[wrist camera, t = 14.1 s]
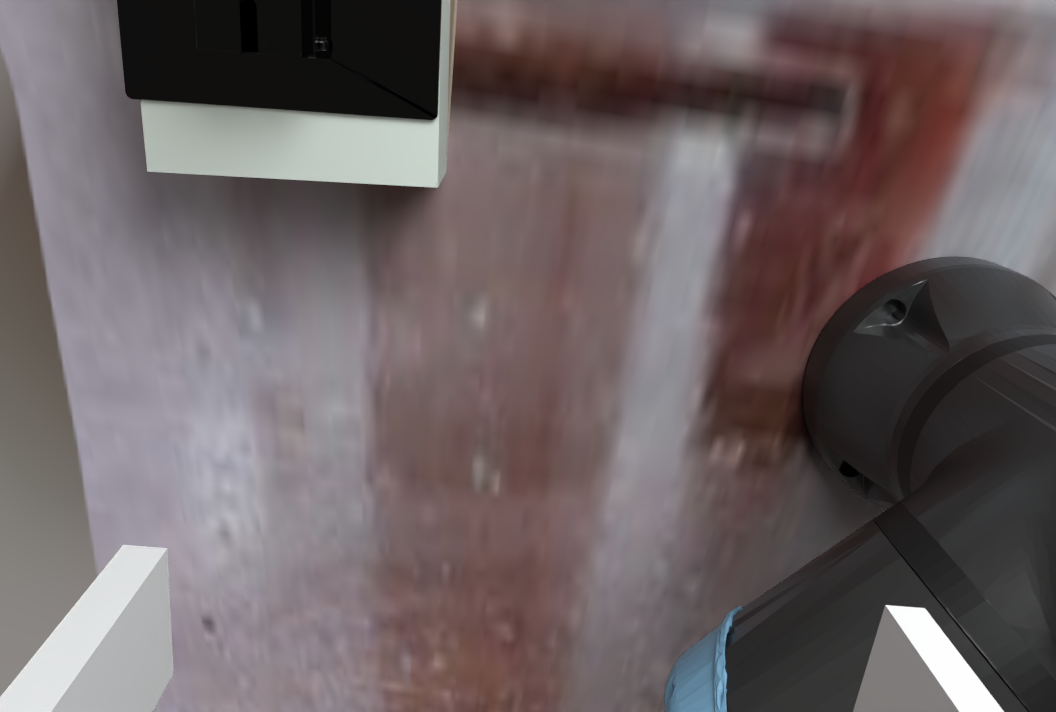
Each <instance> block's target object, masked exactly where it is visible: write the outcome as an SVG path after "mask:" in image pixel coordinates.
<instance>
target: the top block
mask: <svg viewBox="0 0 1056 712" xmlns="http://www.w3.org/2000/svg"><path fill="white" fill-rule="evenodd" d="M449 40H450V0H442V12H441V41H440V72H439V104H438V116H437V118H436V119H434V120H421V119H407V118H393V117H379V116H365V115H351V114H337V113H323V112H309V111H295V110H281V109H267V108H253V107H239V106H225V105H211V104H197V103H183V102H169V101H155V100H141V99H140V102H141V113H142V123H143V133H144V143H145V153H146V163H147V172H163V173H181V174H199V175H217V176H235V177H253V178H271V179H289V180H307V181H325V182H343V183H361V184H379V185H398V186H416V187H434V188H438V186H439V185H440V183H441V181H442V179H443V178H444V176H445V174H446V167H447V125H448V82H449Z"/></svg>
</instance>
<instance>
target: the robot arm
mask: <svg viewBox="0 0 1056 712" xmlns="http://www.w3.org/2000/svg"><path fill="white" fill-rule="evenodd" d="M803 411H804V417H805V422H806V425H807V429H808V432H809V434H810V437H811V439H812V441H813V443H814V445H815V447H816V448H817V450H818V452H819V453H820V455H821V456H822V457H823V458H824V460H825V461H826V462H827V463H828V465H829V466H830V467H831V468H832V470H833V471H834V472H835V473H836V475H837V476H838V477H839V478H840V479H841V480H842V481H843V482H844V483H845V484H846V485H847V486H849V487H850V488H851V489H853V490H854V491H855V492H856V493H858V494H859V495H861V496H862V497H864V498H866V499H867V500H869V501H871V502H873V503H876V504H878V505H880V506H882V507H885V508H887V510H886V511H885V512H883V513H882V514H880V515H879V516H877V517H876V518H874V520H873V519H872V520H871V521H869V522H868V523H867V524H865V525H864V526H862V527H861V528H859V529H858V530H856V531H855V532H854V533H852V534H851V535H849V536H848V537H846V538H845V539H843V540H842V541H840V542H839V543H838V544H836V545H835V546H833V547H832V548H830V549H829V550H827V551H826V552H824V553H823V554H821V555H820V556H819V557H817V558H816V559H814V560H813V561H811V562H810V563H808V564H807V565H805V566H804V567H803V568H801V569H800V570H798V571H797V572H795V573H794V574H792V575H791V576H789V577H788V578H786V579H785V580H784V581H782V582H781V583H779V584H778V585H776V586H775V587H773V588H772V589H770V590H769V591H768V592H766V593H765V594H763V595H762V596H760V597H759V598H757V599H756V600H754V601H753V602H751V603H750V604H749V605H747V606H746V607H741V606H739V607H737V608H735V609H733V610H731V611H730V612H729V613H728V614H727V615H726V616H725V618H724V620H723V622H722V624H721V625H719V626H718V627H717V628H715V629H714V630H713V631H712V632H710V633H709V634H708V635H706V636H705V637H704V638H702V639H701V640H700V641H699V642H697V643H696V644H695V645H693V646H692V647H691V648H690V649H688V650H687V651H686V652H684V653H683V654H682V655H681V656H680V657H679V659H678V660H677V661H676V663H675V664H674V666H673V668H672V670H671V672H670V674H669V676H668V680H667V683H666V690H665V695H664V703H665V712H1056V297H1055V296H1054V295H1053V294H1052V293H1051V292H1049V291H1048V290H1047V289H1045V288H1044V287H1043V286H1042V285H1040V284H1039V283H1037V282H1036V281H1034V280H1032V279H1030V278H1029V277H1027V276H1025V275H1022V274H1020V273H1018V272H1015V271H1013V270H1010V269H1008V268H1006V267H1003V266H1001V265H998V264H996V263H992V262H989V261H986V260H981V259H976V258H969V257H940V258H933V259H927V260H922V261H918V262H914V263H911V264H908V265H905V266H902V267H900V268H897V269H895V270H893V271H891V272H888V273H886V274H885V275H883V276H881V277H879V278H877V279H876V280H874V281H872V282H871V283H869V284H868V285H866V286H865V287H864V288H862V289H861V290H860V291H858V292H857V293H856V294H855V295H853V296H852V297H851V298H850V299H849V300H848V301H847V302H846V303H845V304H844V305H843V306H842V307H841V308H840V309H839V310H838V311H837V312H836V314H835V315H834V316H833V317H832V319H831V320H830V321H829V323H828V324H827V325H826V327H825V328H824V330H823V332H822V333H821V335H820V337H819V338H818V340H817V342H816V344H815V346H814V349H813V351H812V353H811V356H810V359H809V361H808V365H807V368H806V372H805V378H804V384H803ZM173 674H174V673H173V652H172V632H171V611H170V591H169V570H168V550H167V548H157V547H144V546H131V545H123V546H122V547H121V548H120V550H119V551H118V552H117V553H116V555H115V556H114V557H113V558H112V559H111V561H110V562H109V563H108V564H107V566H106V567H105V568H104V569H103V571H102V572H101V573H100V574H99V576H98V577H97V578H96V579H95V581H94V582H93V583H92V584H91V585H90V587H89V588H88V589H87V590H86V592H85V593H84V594H83V595H82V597H81V598H80V599H79V600H78V602H77V603H76V604H75V605H74V607H73V608H72V609H71V610H70V611H69V613H68V614H67V615H66V616H65V618H64V619H63V620H62V622H61V623H60V624H59V625H58V626H57V628H56V629H55V630H54V631H53V632H52V634H51V635H50V636H49V637H48V639H47V640H46V641H45V643H44V644H43V645H42V646H41V647H40V649H39V650H38V651H37V652H36V654H35V655H34V656H33V657H32V658H31V660H30V661H29V662H28V663H27V665H26V666H25V667H24V668H23V670H22V671H21V672H20V673H19V675H18V676H17V677H16V678H15V680H14V681H13V682H12V683H11V684H10V686H9V687H8V688H7V689H6V691H5V692H4V693H3V694H2V696H1V697H0V712H153V710H154V708H155V706H156V704H157V703H158V701H159V699H160V697H161V695H162V694H163V692H164V690H165V688H166V686H167V685H168V683H169V681H170V679H171V677H172V676H173Z"/></svg>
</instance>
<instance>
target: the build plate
mask: <svg viewBox="0 0 1056 712" xmlns="http://www.w3.org/2000/svg"><path fill="white" fill-rule="evenodd" d="M117 4H118V15H119V26H120V37H121V48H122V59H123V70H124V81H125V92H126V95H127V96H128V97H129V98H131V99H141V100H155V101H169V102H183V103H197V104H211V105H225V106H239V107H253V108H267V109H281V110H295V111H309V112H323V113H337V114H351V115H365V116H379V117H393V118H407V119H421V120H434V119H436V118H437V116H438V104H439V72H440V41H441V12H442V0H117Z"/></svg>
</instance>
